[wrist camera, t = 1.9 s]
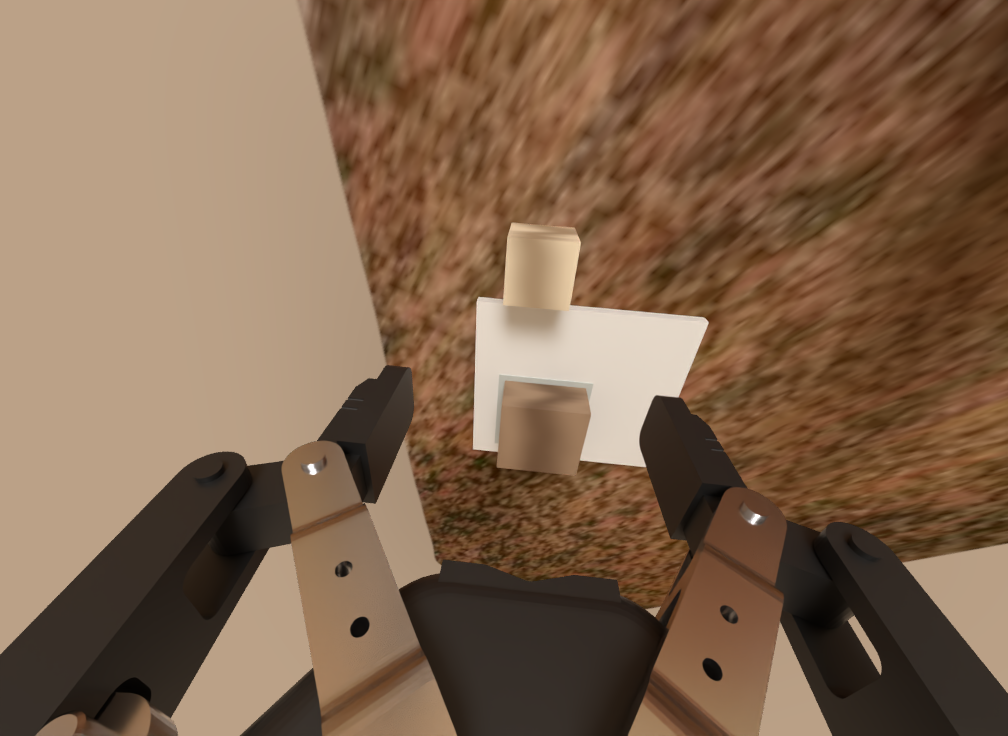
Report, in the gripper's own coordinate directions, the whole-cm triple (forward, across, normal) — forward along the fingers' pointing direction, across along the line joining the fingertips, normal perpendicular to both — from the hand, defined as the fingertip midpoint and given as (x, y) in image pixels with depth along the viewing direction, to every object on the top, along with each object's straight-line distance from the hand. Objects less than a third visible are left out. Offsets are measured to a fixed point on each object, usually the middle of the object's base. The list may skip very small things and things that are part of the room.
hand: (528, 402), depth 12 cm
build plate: (+21, -6, +14) cm, 26 cm away
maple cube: (+21, -1, +1) cm, 21 cm away
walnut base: (+20, -3, +17) cm, 26 cm away
